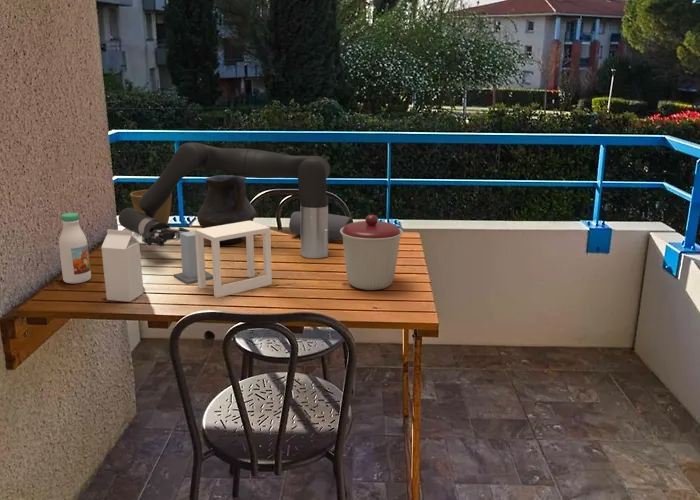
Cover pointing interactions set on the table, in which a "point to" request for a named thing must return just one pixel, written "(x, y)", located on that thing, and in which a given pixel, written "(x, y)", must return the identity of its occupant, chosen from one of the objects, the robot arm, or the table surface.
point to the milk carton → (122, 266)
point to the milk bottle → (73, 251)
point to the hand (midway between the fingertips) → (176, 240)
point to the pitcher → (225, 204)
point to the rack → (240, 231)
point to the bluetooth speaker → (333, 225)
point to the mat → (193, 280)
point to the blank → (189, 254)
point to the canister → (370, 252)
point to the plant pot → (160, 214)
